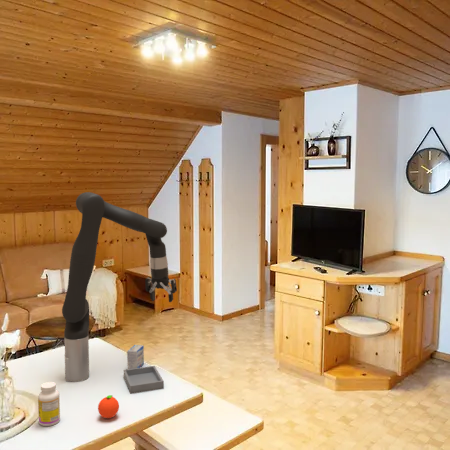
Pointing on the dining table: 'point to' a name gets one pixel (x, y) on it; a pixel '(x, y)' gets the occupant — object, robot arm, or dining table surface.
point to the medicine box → (135, 357)
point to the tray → (143, 379)
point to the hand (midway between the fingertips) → (162, 300)
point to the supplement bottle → (49, 404)
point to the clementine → (108, 407)
